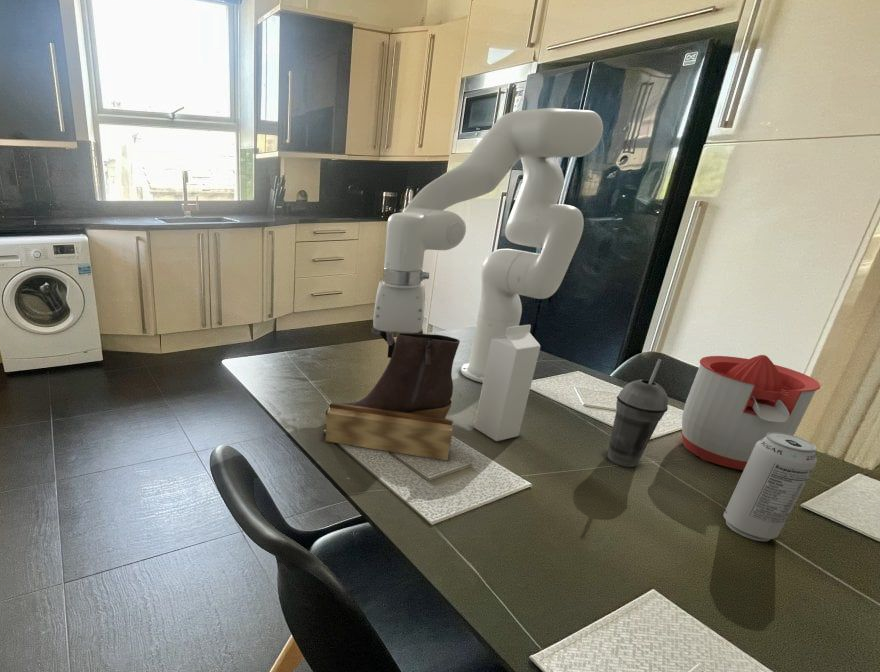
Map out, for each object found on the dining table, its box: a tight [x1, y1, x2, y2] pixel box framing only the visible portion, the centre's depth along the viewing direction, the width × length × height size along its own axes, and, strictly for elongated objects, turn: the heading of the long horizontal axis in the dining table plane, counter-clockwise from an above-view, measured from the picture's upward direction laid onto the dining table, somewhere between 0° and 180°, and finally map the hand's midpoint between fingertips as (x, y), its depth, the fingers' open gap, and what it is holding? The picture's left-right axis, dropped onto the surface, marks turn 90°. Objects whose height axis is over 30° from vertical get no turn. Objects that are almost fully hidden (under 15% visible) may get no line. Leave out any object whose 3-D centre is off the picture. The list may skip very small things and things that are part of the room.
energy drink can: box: [723, 432, 818, 542], centre depth 68 cm, size 6×6×15 cm
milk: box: [473, 324, 541, 442], centre depth 92 cm, size 6×6×22 cm
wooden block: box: [324, 401, 454, 461], centre depth 89 cm, size 22×3×7 cm, turn 75°
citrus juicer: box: [680, 354, 821, 471], centre depth 86 cm, size 16×17×20 cm
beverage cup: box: [607, 358, 669, 468], centre depth 84 cm, size 7×7×20 cm
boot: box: [323, 332, 461, 423], centre depth 93 cm, size 9×24×20 cm, turn 88°
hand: (394, 360), depth 105 cm, fingers closed
